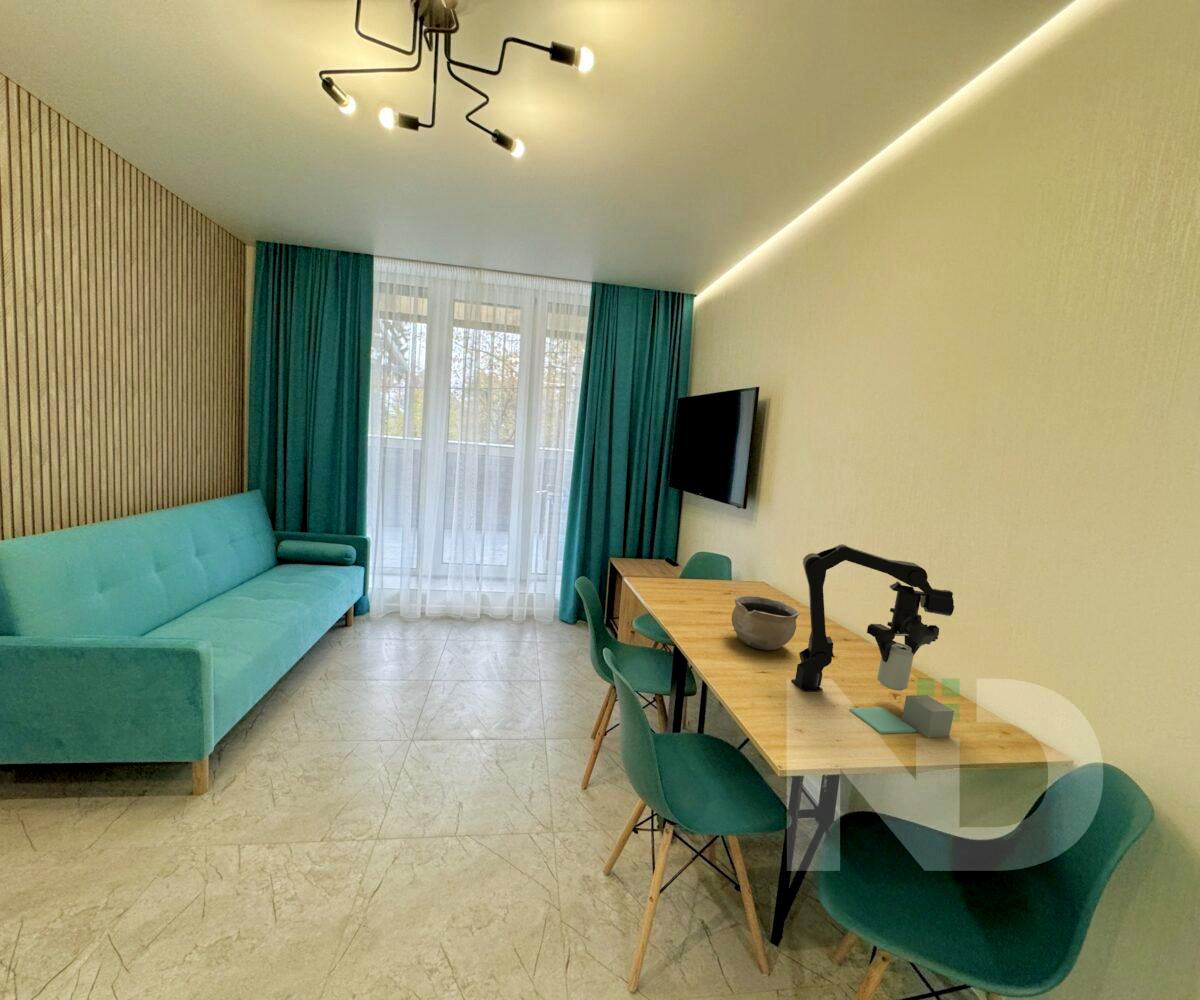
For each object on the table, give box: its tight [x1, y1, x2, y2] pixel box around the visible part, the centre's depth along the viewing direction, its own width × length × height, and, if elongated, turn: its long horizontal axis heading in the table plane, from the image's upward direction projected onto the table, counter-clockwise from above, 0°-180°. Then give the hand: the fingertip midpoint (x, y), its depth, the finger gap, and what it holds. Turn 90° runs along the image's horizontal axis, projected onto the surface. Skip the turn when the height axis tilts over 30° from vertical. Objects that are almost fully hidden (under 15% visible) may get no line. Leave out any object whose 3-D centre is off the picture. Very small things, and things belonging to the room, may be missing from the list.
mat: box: [849, 706, 917, 735], centre depth 134 cm, size 11×11×1 cm
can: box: [876, 641, 915, 692], centre depth 143 cm, size 8×8×12 cm
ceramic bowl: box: [731, 595, 800, 651], centre depth 179 cm, size 22×22×15 cm
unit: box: [901, 694, 955, 739], centre depth 133 cm, size 7×8×7 cm
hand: (896, 661), depth 143 cm, fingers closed on can, 7 cm apart
